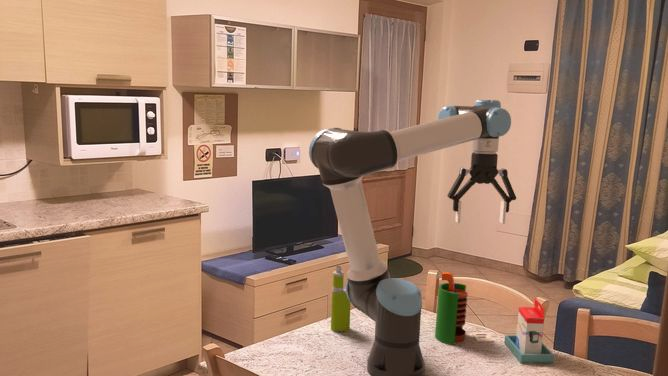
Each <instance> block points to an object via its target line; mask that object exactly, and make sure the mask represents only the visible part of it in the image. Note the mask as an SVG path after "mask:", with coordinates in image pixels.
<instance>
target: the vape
mask: <svg viewBox="0 0 668 376" xmlns="http://www.w3.org/2000/svg"><path fill="white" fill-rule="evenodd" d="M344 274H345V272H344V271H342V266H340V265H336V266H335V270H334V271H333V272H332V275H333V276H332V277H333V278H332V289H331V295H330V296H331V297H330V298H331V310H330V312H331V313H330V330H331V331H332V330H333V331H332V332H335V331H347V332H349V331H350V329H351V327H350V326H351V305H352V304H351V302H350V301H349V299H348V298H347V295H346V289H345V287H344V277H345V275H344Z"/></svg>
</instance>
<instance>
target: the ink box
mask: <svg viewBox="0 0 668 376" xmlns="http://www.w3.org/2000/svg"><path fill="white" fill-rule="evenodd" d="M533 301H534V305H533V307H532V306H531V307H529V306H519V307H518V315H517V326H516V333H515V335H516V346H517V347H518V349H519V350H520V351H521V352H522V353H523V354H541V348H542V343H543V337H544V336H543V334H544V325H545V314H546V313H545V310H546V309H545V307H544V306H543V305H542V303H541V302H540V301H538V299H537V298H534V300H533Z"/></svg>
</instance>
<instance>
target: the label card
mask: <svg viewBox="0 0 668 376" xmlns="http://www.w3.org/2000/svg"><path fill="white" fill-rule="evenodd" d="M471 335H472V336H473V338H474V339H475V341H476V342H477V343H481V342H482V343H483V342H484V343H487V342H488V343H494V342H495V340H494V339H493V337H492V336H491V334H489V333H488V332H487V331H486V332H483V331H481V332H474V331H473V332H471Z"/></svg>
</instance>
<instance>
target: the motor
mask: <svg viewBox="0 0 668 376" xmlns="http://www.w3.org/2000/svg"><path fill="white" fill-rule="evenodd" d="M441 281H447V282H444V283H441V284H439V285H438V294H437V306H436V307H437V308H436V319H435V330H434V331H435V333H434V338H435V339H436V340H437V341H439V342H441V343H444V344H447V345H452V346H454V345H455V344H461V343H464V342H465V340H466V333H467V332H466V330H465V329H463V327H464V326H465V325H466V317H467V315H466V314H467V307H468V306H467V305H468V304H467V303H468V297H469V294H468V292H467V291H466V289H467V285H466V284H463V283H458V282H455V279H454V276H453V273H451V272H448V271H443V272H442V273H441Z"/></svg>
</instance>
